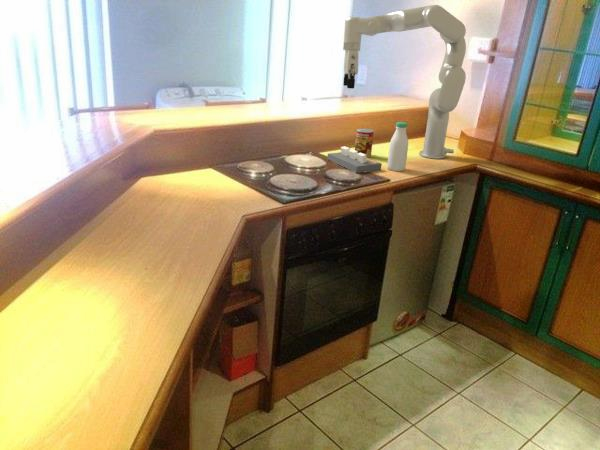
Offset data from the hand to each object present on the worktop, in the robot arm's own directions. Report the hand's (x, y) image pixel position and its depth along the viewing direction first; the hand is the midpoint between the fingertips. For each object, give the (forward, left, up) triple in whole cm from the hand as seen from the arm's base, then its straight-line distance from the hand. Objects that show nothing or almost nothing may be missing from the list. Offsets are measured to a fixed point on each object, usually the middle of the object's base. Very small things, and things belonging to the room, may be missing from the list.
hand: (348, 86), depth 223 cm
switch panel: (-3, +23, -30) cm, 38 cm away
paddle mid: (-3, +23, -27) cm, 36 cm away
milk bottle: (-21, +26, -31) cm, 45 cm away
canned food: (-9, +5, -31) cm, 32 cm away
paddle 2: (-6, +28, -27) cm, 40 cm away
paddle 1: (0, +18, -27) cm, 33 cm away
